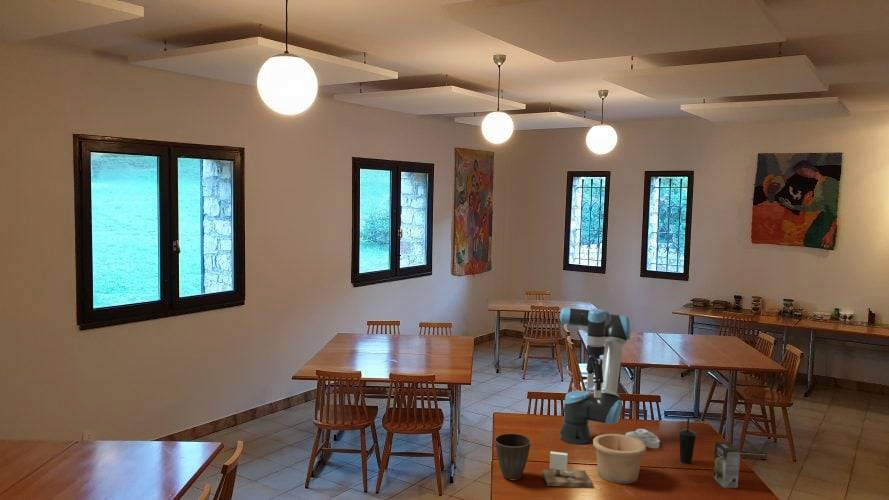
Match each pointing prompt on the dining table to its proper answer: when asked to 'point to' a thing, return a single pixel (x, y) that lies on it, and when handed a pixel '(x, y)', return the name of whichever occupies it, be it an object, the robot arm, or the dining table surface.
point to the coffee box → (726, 464)
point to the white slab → (559, 462)
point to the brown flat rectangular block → (567, 478)
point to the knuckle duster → (645, 437)
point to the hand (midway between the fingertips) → (593, 392)
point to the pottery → (618, 457)
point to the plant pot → (512, 454)
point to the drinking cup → (686, 444)
